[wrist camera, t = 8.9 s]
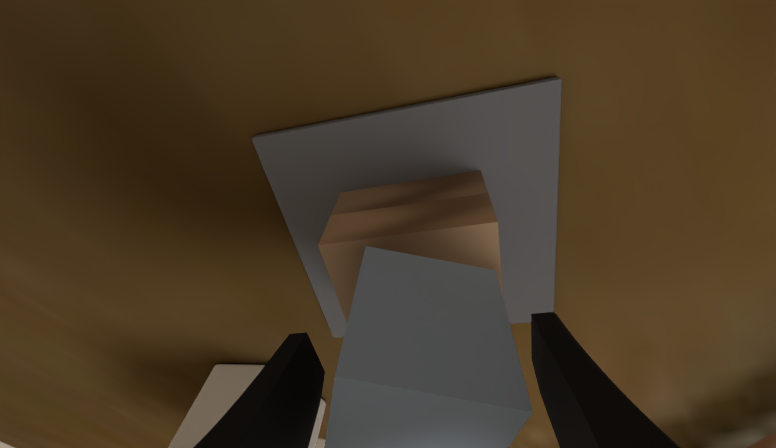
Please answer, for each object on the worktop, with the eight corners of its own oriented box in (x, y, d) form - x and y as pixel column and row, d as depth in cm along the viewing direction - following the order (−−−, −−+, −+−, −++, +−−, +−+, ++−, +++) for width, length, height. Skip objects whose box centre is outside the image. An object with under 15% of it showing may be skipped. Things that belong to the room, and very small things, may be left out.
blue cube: (495, 270, 12) (532, 412, 8) (459, 354, 15) (474, 497, 10) (365, 245, 12) (334, 375, 8) (351, 334, 15) (321, 470, 10)
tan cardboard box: (480, 170, 15) (488, 192, 13) (490, 282, 18) (497, 312, 16) (340, 192, 16) (330, 215, 14) (372, 294, 19) (366, 323, 17)
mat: (557, 76, 13) (561, 78, 13) (550, 314, 19) (553, 320, 19) (254, 135, 15) (251, 138, 15) (335, 332, 21) (333, 337, 21)
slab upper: (488, 192, 13) (498, 221, 11) (497, 312, 16) (505, 349, 14) (330, 215, 14) (317, 244, 12) (366, 323, 17) (360, 359, 15)
